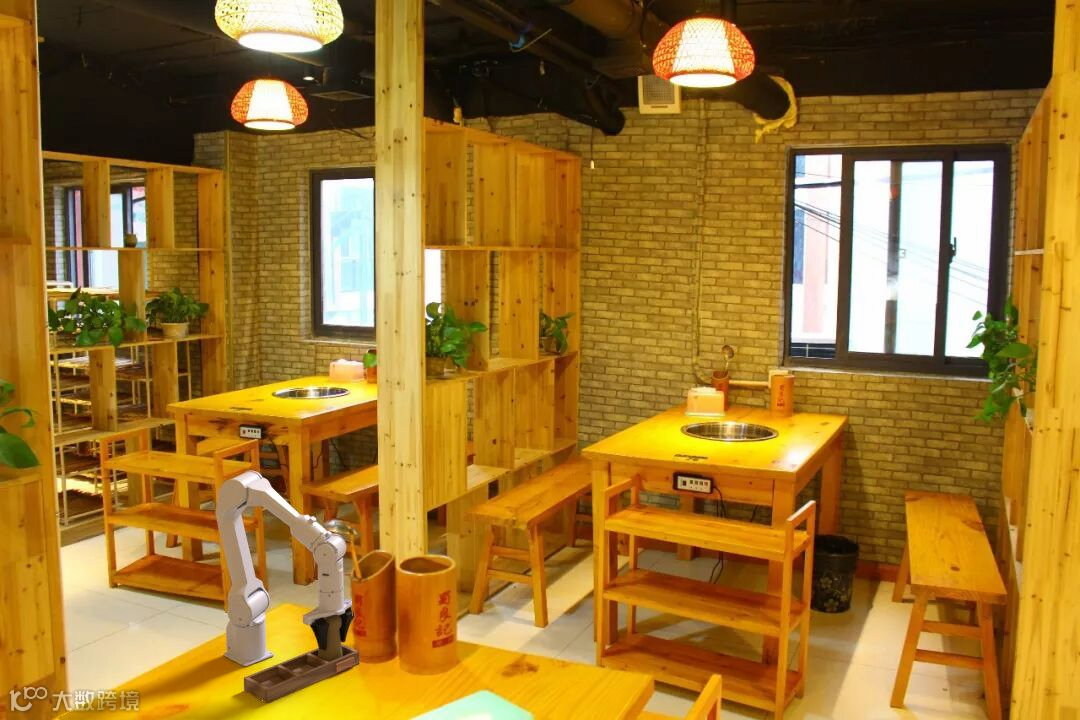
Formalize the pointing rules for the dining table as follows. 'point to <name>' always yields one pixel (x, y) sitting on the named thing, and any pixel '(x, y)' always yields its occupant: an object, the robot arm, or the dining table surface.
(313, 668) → the spice rack
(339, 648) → the pepper mill
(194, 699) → the dining table surface
